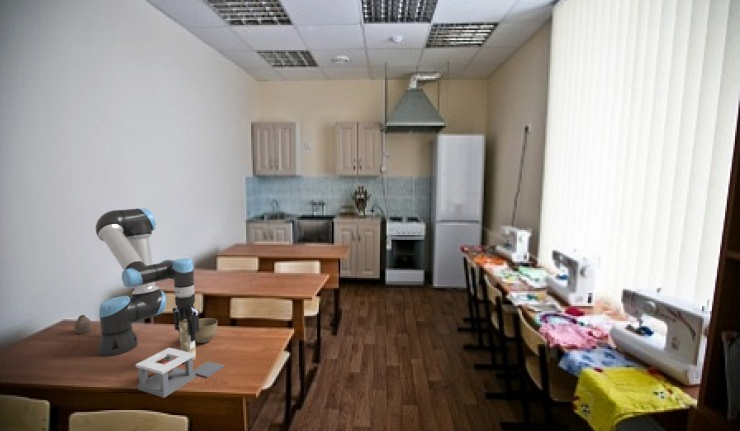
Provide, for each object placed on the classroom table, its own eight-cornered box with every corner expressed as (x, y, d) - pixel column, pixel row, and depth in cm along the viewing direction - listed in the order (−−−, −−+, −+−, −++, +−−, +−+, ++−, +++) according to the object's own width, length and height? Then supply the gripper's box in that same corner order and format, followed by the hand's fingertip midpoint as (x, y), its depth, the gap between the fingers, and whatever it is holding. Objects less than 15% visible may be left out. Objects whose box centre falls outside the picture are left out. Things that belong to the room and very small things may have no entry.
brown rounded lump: (71, 334, 180) (69, 318, 179) (84, 328, 186) (82, 312, 185) (82, 335, 178) (81, 318, 178) (95, 329, 185) (93, 313, 184)
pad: (190, 373, 144) (190, 371, 144) (208, 362, 152) (207, 361, 152) (207, 377, 141) (207, 376, 141) (224, 366, 149) (224, 365, 149)
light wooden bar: (181, 361, 153) (179, 321, 151) (189, 357, 157) (186, 318, 155) (188, 363, 152) (185, 323, 150) (196, 358, 156) (193, 319, 154)
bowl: (224, 339, 174) (223, 319, 173) (199, 349, 164) (198, 329, 162) (208, 333, 181) (207, 314, 180) (184, 343, 170) (183, 323, 169)
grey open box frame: (137, 389, 133) (135, 364, 132) (170, 370, 146) (169, 347, 145) (164, 397, 128) (162, 371, 127) (195, 377, 141) (194, 353, 140)
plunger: (157, 378, 136) (156, 365, 135) (168, 372, 140) (167, 360, 139) (166, 381, 134) (165, 367, 133) (176, 375, 138) (175, 362, 137)
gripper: (162, 295, 151) (166, 347, 153) (192, 300, 145) (195, 354, 147) (177, 290, 158) (181, 339, 160) (206, 294, 152) (209, 346, 154)
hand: (188, 346), depth 154 cm, fingers closed on light wooden bar, 4 cm apart
